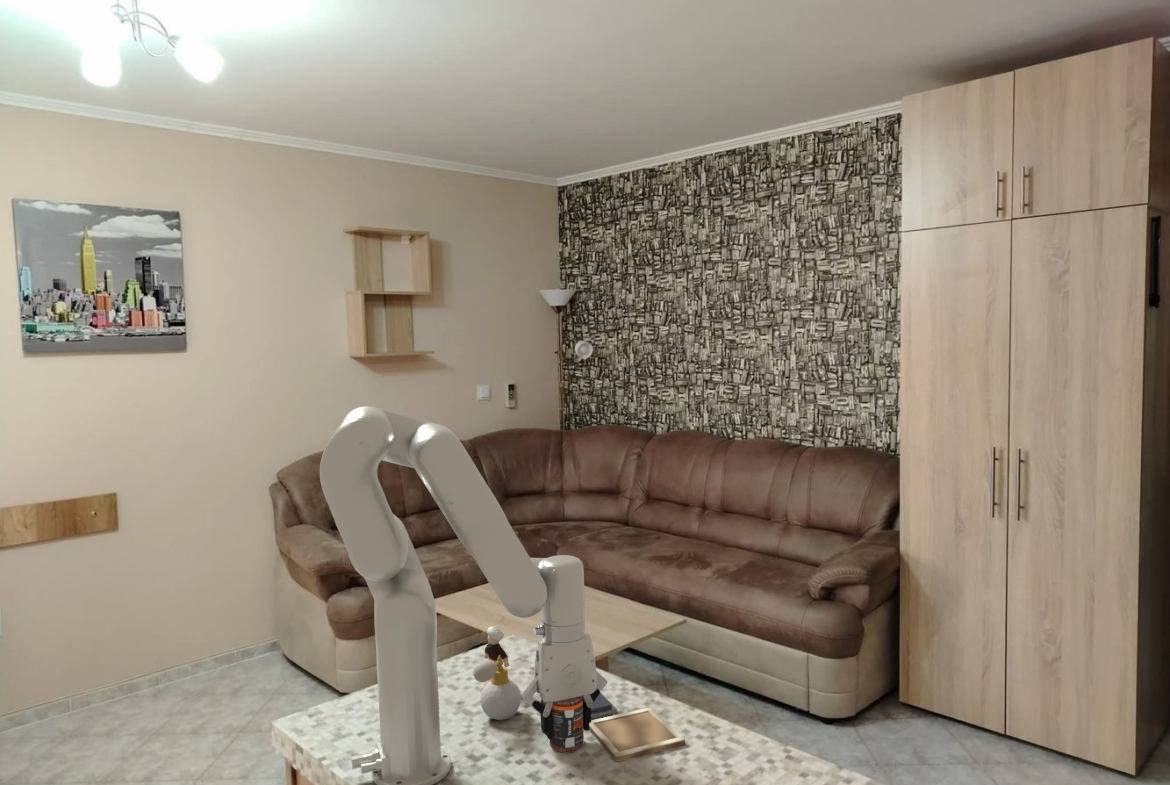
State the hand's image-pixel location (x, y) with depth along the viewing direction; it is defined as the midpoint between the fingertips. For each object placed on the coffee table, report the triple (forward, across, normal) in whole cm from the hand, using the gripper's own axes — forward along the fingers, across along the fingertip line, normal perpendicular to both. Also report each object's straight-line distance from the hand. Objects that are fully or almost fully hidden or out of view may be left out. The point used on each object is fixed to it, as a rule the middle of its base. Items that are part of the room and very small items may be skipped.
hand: (566, 730), depth 135 cm
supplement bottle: (+3, 0, 0) cm, 3 cm away
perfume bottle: (+3, -8, +14) cm, 16 cm away
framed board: (+3, +12, -2) cm, 12 cm away
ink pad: (+3, +7, +12) cm, 14 cm away
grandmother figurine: (+3, -5, +27) cm, 28 cm away
